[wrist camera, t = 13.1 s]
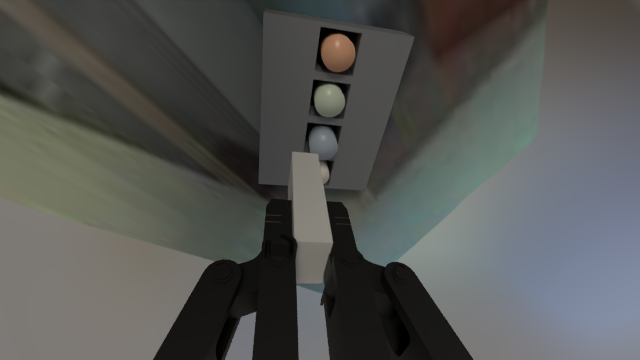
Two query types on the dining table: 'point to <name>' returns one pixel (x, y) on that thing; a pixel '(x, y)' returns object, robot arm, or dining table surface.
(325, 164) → the button ivory
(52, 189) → the dining table surface
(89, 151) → the dining table surface
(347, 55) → the button terracotta
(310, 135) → the button slate
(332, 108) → the button sage
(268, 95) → the console
